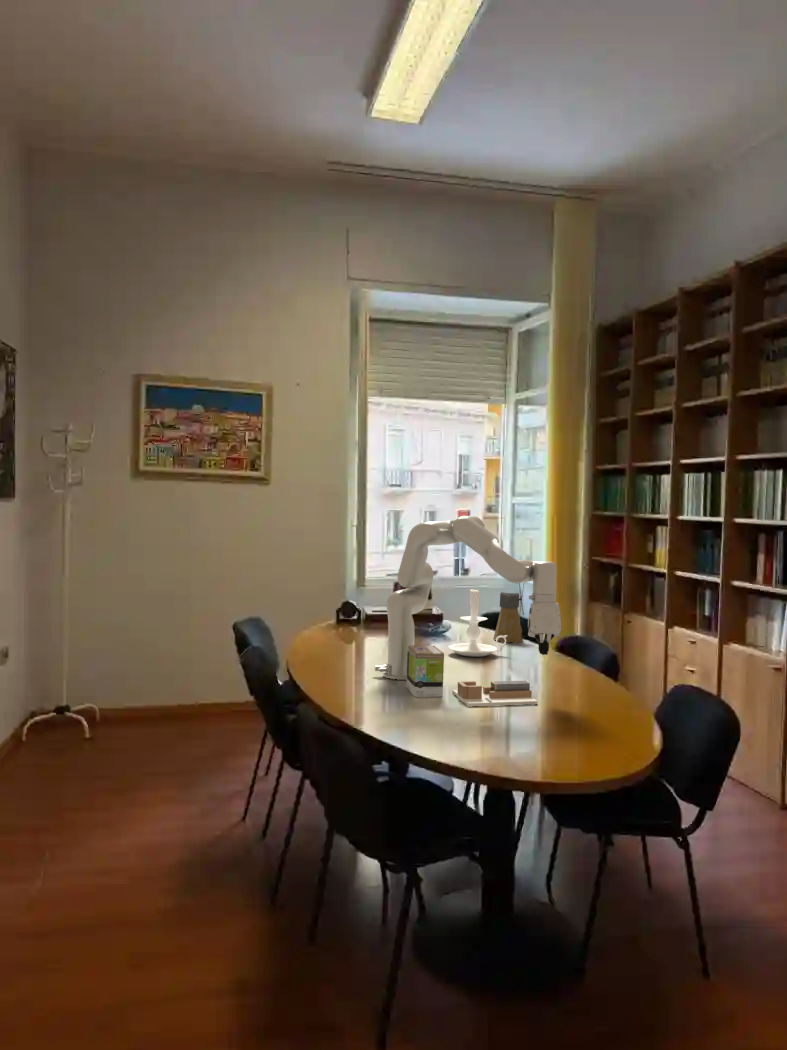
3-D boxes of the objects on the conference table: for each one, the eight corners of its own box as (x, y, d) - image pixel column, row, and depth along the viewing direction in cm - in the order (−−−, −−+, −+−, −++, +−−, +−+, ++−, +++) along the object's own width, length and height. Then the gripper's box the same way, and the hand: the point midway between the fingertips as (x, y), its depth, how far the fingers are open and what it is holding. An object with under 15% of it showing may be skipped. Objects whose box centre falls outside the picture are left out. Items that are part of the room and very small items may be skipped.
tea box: (443, 697, 266) (444, 652, 265) (413, 698, 264) (414, 653, 264) (434, 686, 281) (435, 644, 280) (405, 687, 279) (406, 644, 279)
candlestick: (511, 660, 329) (513, 592, 328) (451, 659, 328) (452, 591, 327) (502, 651, 350) (504, 586, 349) (445, 650, 349) (447, 585, 348)
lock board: (468, 707, 254) (468, 690, 254) (452, 693, 271) (452, 677, 271) (537, 704, 258) (537, 688, 258) (517, 691, 276) (517, 676, 276)
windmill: (520, 645, 364) (522, 579, 363) (489, 643, 368) (490, 577, 367) (526, 637, 384) (528, 574, 383) (496, 635, 388) (498, 573, 387)
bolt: (494, 696, 263) (494, 684, 263) (490, 693, 267) (490, 681, 267) (529, 695, 265) (529, 683, 265) (524, 692, 269) (525, 680, 269)
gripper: (527, 600, 262) (526, 656, 262) (570, 599, 265) (569, 655, 265) (518, 597, 269) (518, 652, 270) (560, 597, 272) (560, 651, 273)
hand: (543, 653), depth 268 cm, fingers closed
